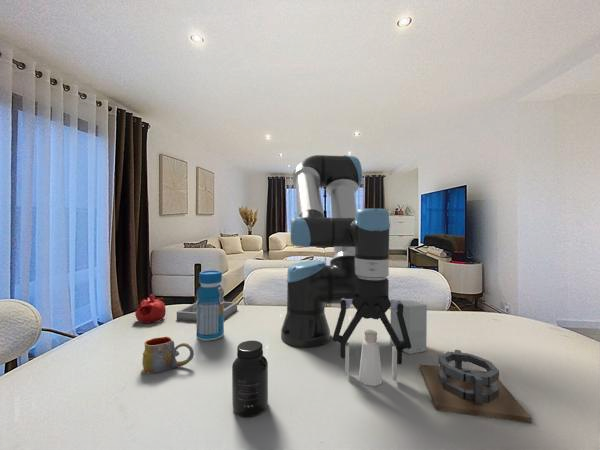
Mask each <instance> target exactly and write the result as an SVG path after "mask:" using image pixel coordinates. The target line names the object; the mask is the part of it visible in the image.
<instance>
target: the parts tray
mask: <svg viewBox="0 0 600 450" xmlns="http://www.w3.org/2000/svg"><path fill="white" fill-rule="evenodd" d="M224 302H225V303H224V320H225V319H227V318H229V316H231V315H232V314H233V313H235V312H237V311H238V302H236V301H235V302H232V301H224ZM194 306H196V302H194V303H192V304H190V305H188V306H186V307H184V308H182V309H180V310H178V311H176V321H179V322H180V321H182V322H190V323H191V322H193V323H197V313H196V312H193V307H194Z"/></svg>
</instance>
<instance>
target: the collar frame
mask: <svg viewBox="0 0 600 450" xmlns="http://www.w3.org/2000/svg"><path fill="white" fill-rule="evenodd" d="M451 362H454V366H453V365H450V364H449V363H451ZM463 362H464V363H470V364H472V365H475V366H477V367H479V368H483V369H485V371H487V373H485V374H481V373H478V372H476V371H474V370H475V369H471V368H470V369H469V368H465V367H463ZM438 366H440V367H441V369H442V370H440V371H439V372H438V379H439V381H440V383H441V386H442V388H443V389H444V390H446V391H448V392H450V393H451V394H453V395H455V396H457V397H459V398H461V399H465V400H467V401H473V402H474V404H475V405H478V406H482V403H490V402H491V401H493V400H494V399H496V398H497V397H499V388H498V387H497V385H496V384H495V383H494V382H495V381H497V380H498V379H499V380H500V370H499V369H498V368H497V367H496V366H495V364H493V362H491V361H490V360H488V359H485V358H482V357H480V356H478V355H474V354H473V353H469V352H462V350H458V349H455V350H454V351H447V352H445V353H442V354H440V355H439V356H438ZM451 376H452V377H454V378H456V379H458V380H460V381H462V382H466V383H473V390H465V389H463V388H461V387H459V386H457V385H455V384H453V383H451V382H449V381H448V378H450V377H451ZM483 385H485V386H486V387H487V390H485V391H484V392H483Z"/></svg>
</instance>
